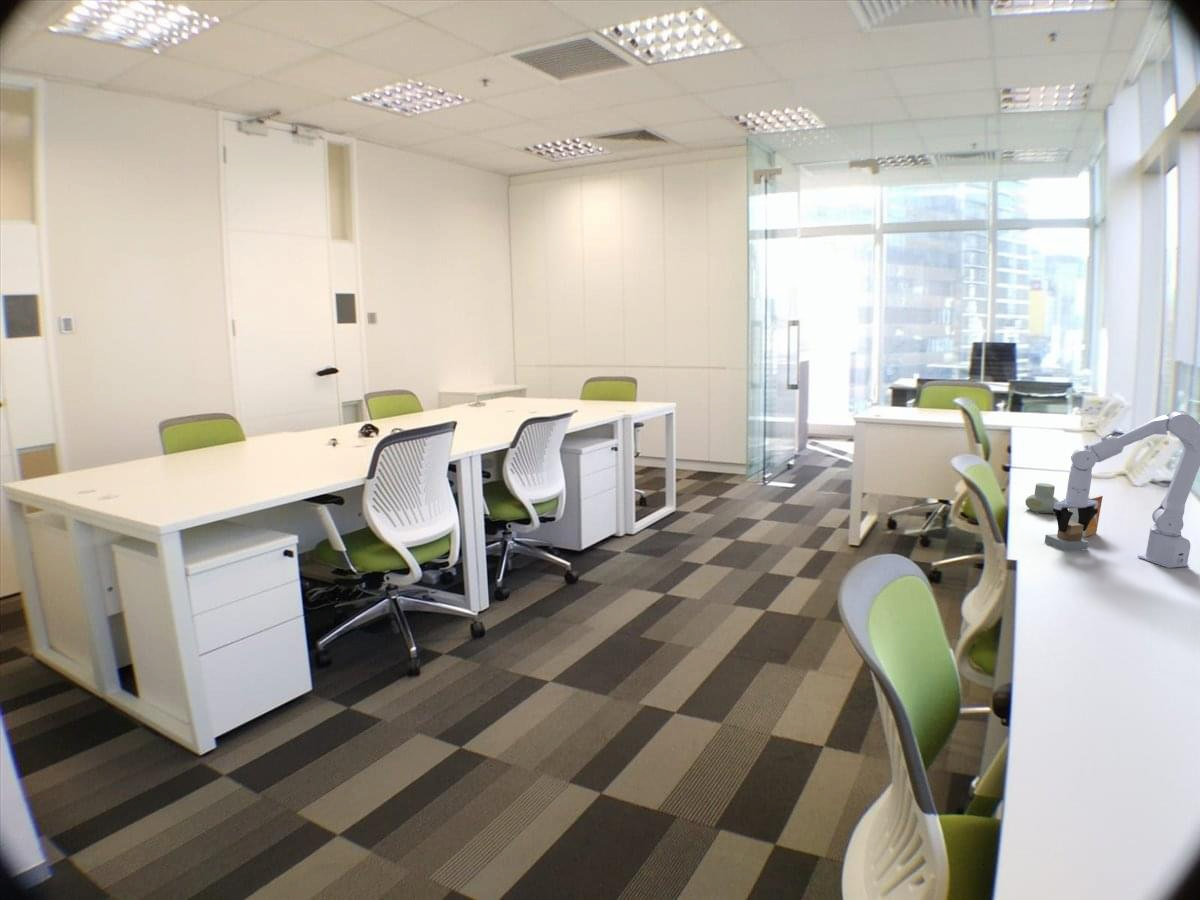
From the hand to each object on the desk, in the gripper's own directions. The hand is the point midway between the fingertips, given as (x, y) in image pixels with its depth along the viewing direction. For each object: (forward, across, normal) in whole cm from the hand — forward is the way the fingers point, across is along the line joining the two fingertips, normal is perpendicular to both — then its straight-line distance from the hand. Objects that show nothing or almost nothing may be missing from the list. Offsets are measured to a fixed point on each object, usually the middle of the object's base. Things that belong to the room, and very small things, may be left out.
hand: (1072, 530), depth 225 cm
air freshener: (+6, -24, -35) cm, 43 cm away
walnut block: (+3, 0, 0) cm, 3 cm away
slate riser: (+6, 0, -1) cm, 6 cm away
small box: (+6, -16, -11) cm, 20 cm away
